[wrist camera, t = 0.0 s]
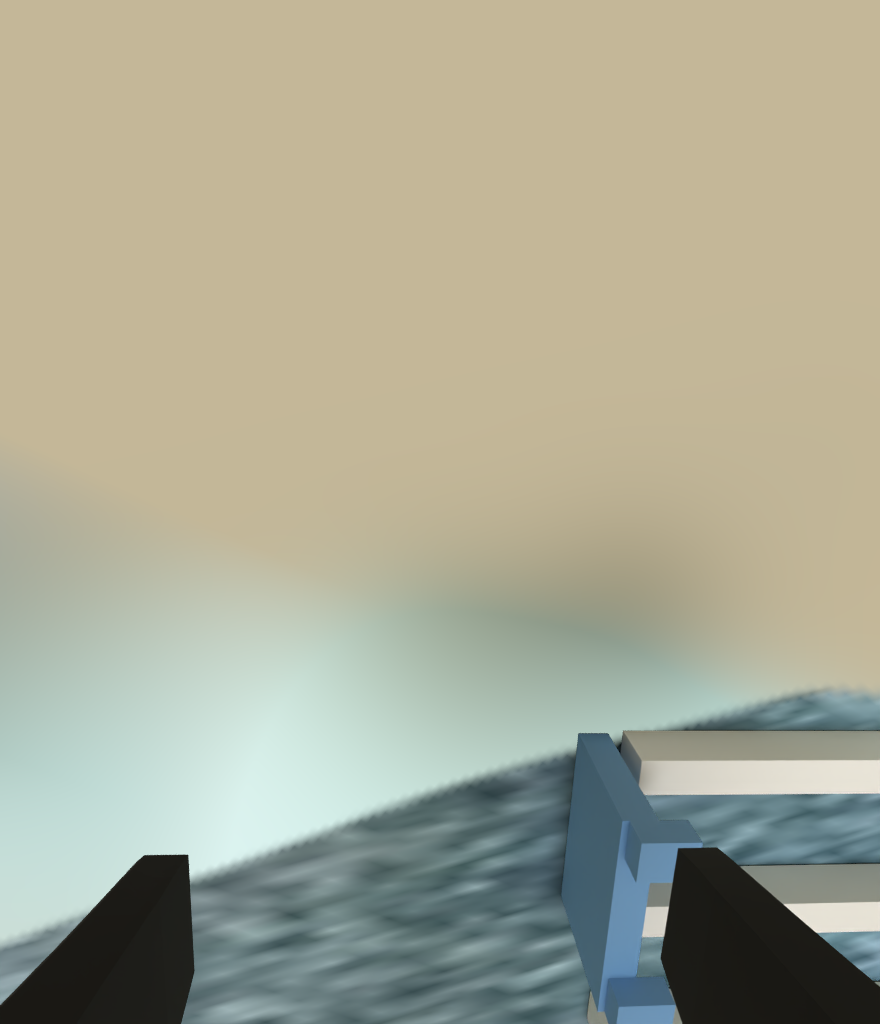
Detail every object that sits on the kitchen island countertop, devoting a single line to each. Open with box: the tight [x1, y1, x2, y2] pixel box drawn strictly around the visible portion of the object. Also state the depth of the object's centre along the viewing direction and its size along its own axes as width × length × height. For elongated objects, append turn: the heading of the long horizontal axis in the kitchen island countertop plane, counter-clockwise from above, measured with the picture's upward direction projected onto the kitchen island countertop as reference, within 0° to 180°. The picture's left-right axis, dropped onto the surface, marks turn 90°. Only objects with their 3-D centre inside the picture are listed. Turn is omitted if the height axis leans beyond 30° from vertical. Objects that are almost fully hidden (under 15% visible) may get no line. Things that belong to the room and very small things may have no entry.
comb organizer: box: [587, 731, 880, 1024], centre depth 22 cm, size 17×13×2 cm
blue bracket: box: [561, 733, 703, 1024], centre depth 18 cm, size 6×2×5 cm, turn 177°
